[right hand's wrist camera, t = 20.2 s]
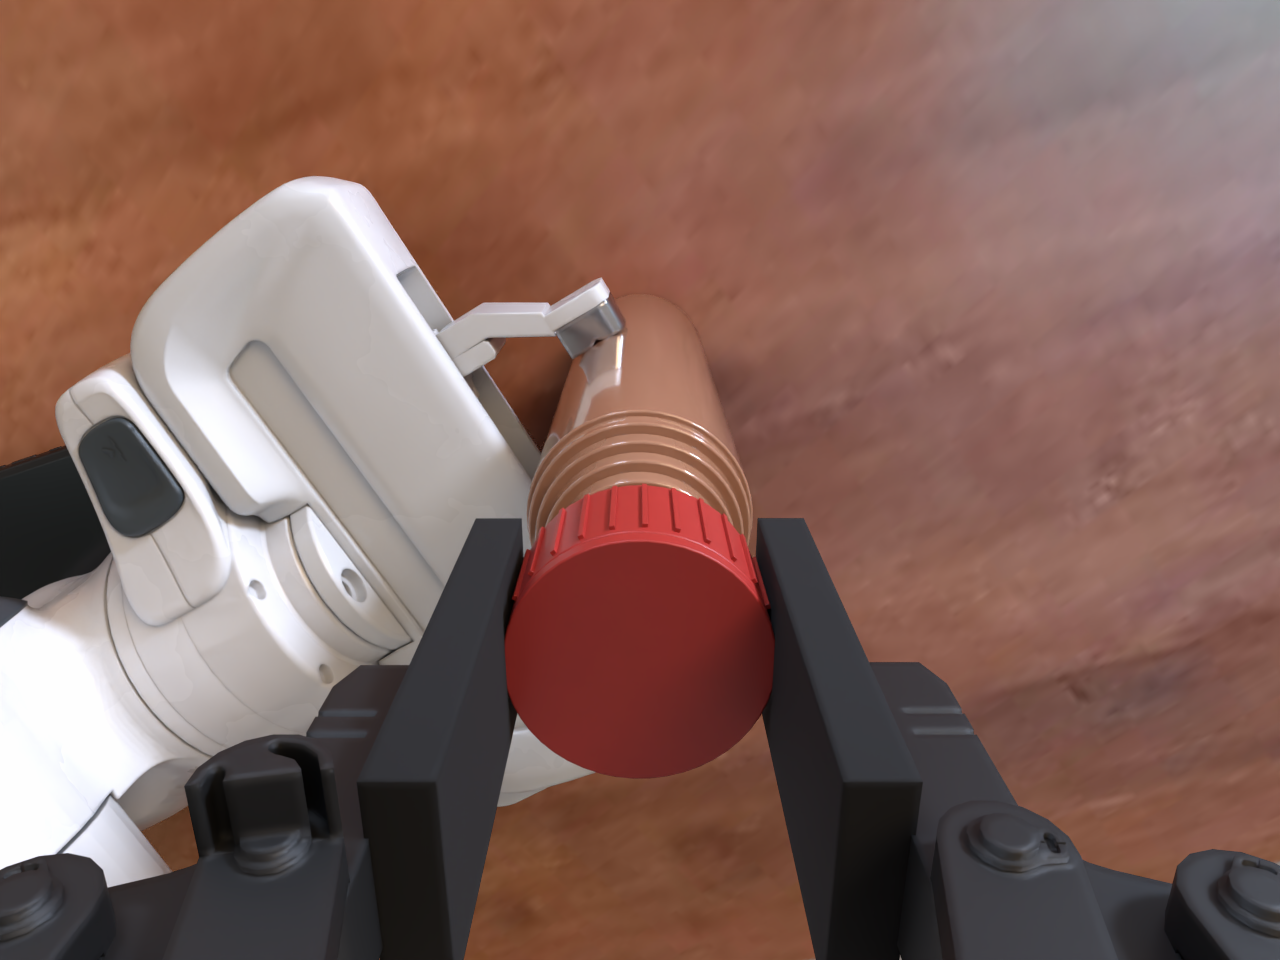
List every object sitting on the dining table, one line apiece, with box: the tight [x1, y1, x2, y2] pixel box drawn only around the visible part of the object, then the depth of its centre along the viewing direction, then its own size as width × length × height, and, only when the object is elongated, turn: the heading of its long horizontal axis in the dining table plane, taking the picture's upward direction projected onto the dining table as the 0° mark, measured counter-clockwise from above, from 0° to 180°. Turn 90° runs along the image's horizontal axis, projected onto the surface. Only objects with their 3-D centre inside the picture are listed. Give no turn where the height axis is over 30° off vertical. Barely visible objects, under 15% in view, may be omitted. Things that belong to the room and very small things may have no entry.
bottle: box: [526, 294, 753, 547], centre depth 23 cm, size 5×5×20 cm
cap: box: [504, 484, 775, 778], centre depth 14 cm, size 4×4×2 cm
